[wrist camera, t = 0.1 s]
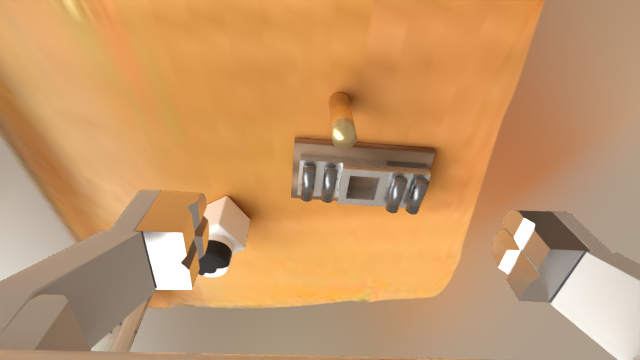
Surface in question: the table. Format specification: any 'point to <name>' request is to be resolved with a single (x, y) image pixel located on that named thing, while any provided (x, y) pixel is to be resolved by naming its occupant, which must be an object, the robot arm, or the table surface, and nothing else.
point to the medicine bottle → (223, 236)
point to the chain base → (358, 152)
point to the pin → (342, 121)
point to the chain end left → (327, 176)
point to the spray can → (123, 332)
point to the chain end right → (387, 185)
